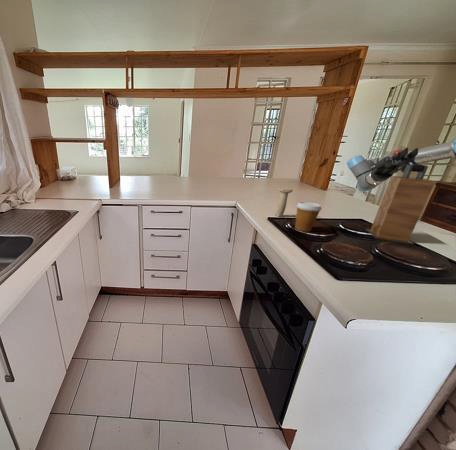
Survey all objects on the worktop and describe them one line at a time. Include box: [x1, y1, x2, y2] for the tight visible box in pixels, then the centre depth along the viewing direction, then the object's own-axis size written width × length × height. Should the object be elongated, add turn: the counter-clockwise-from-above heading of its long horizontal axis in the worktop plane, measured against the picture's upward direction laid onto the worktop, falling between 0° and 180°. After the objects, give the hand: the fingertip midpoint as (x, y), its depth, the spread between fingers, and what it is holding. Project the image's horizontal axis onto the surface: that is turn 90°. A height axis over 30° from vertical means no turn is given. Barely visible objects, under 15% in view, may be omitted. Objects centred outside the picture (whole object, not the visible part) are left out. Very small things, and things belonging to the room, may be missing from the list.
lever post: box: [365, 165, 436, 246], centre depth 96 cm, size 12×12×31 cm
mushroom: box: [275, 187, 293, 218], centre depth 124 cm, size 5×6×15 cm
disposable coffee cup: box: [294, 201, 322, 233], centre depth 106 cm, size 10×10×12 cm
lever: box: [391, 149, 424, 173], centre depth 98 cm, size 22×4×4 cm, turn 156°
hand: (411, 151), depth 96 cm, fingers closed on lever, 2 cm apart
